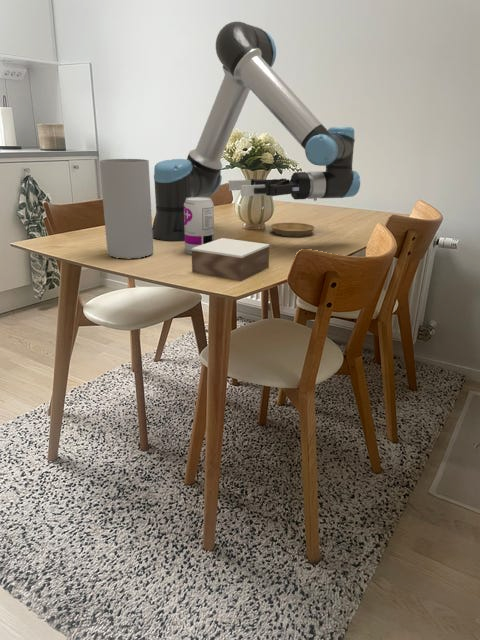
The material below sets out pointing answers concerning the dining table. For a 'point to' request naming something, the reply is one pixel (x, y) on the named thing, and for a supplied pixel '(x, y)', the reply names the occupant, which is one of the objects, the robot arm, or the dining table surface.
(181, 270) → the dining table surface
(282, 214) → the dining table surface
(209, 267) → the block
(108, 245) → the cylinder vase
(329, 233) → the dining table surface
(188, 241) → the supplement can
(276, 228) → the plant saucer
